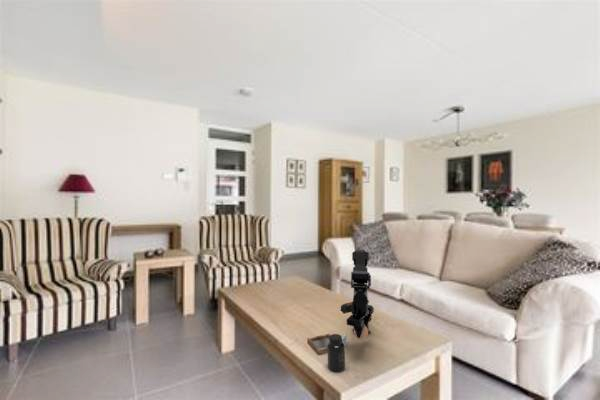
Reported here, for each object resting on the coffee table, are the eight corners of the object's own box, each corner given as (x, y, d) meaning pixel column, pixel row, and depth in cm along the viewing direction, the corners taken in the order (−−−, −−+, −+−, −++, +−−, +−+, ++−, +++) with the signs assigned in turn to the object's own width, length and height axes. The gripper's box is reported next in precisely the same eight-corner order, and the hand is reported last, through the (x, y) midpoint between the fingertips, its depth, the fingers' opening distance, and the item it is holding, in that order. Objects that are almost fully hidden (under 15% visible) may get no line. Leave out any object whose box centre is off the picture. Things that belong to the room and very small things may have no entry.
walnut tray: (328, 337, 133) (328, 333, 133) (341, 349, 123) (341, 344, 123) (307, 342, 128) (307, 338, 128) (318, 355, 118) (318, 350, 118)
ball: (362, 333, 125) (362, 320, 125) (371, 340, 120) (371, 325, 120) (351, 336, 123) (351, 322, 123) (359, 342, 117) (359, 328, 117)
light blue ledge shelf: (343, 341, 129) (343, 334, 129) (348, 342, 128) (347, 335, 128) (328, 358, 115) (328, 350, 115) (333, 360, 114) (333, 352, 114)
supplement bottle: (343, 361, 113) (342, 332, 113) (346, 372, 106) (346, 340, 106) (326, 362, 113) (326, 332, 113) (328, 372, 106) (328, 341, 106)
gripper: (350, 289, 133) (351, 322, 133) (334, 302, 117) (335, 339, 117) (373, 293, 128) (374, 327, 128) (360, 307, 112) (360, 346, 112)
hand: (361, 334), depth 121 cm, fingers closed on ball, 6 cm apart
